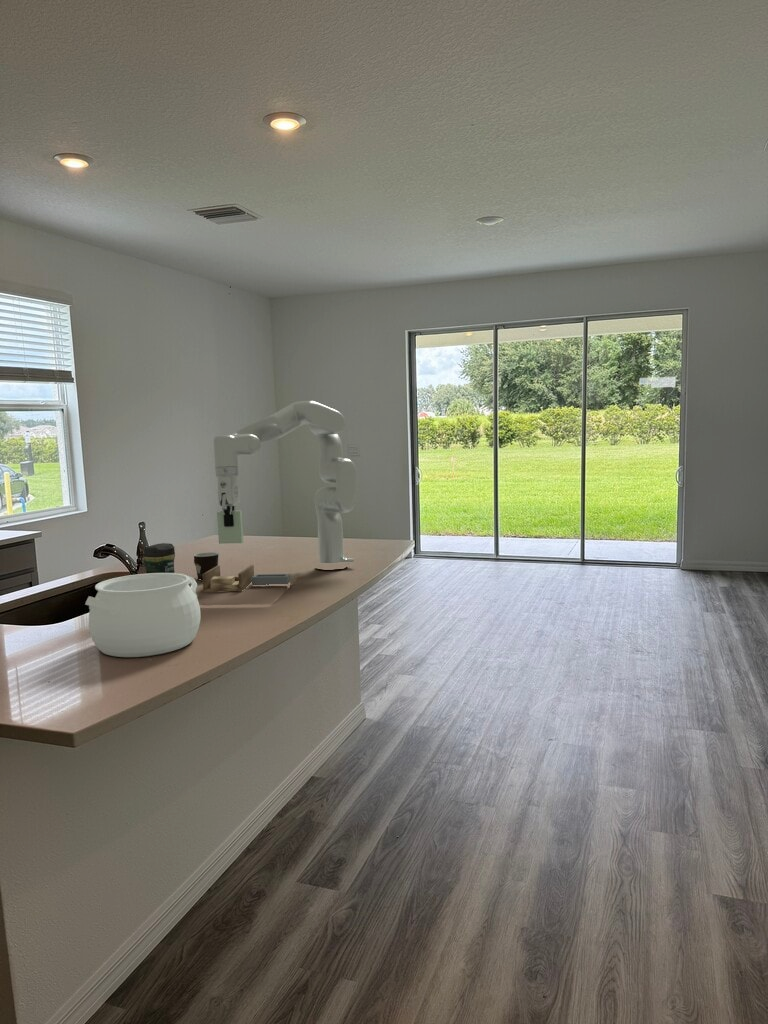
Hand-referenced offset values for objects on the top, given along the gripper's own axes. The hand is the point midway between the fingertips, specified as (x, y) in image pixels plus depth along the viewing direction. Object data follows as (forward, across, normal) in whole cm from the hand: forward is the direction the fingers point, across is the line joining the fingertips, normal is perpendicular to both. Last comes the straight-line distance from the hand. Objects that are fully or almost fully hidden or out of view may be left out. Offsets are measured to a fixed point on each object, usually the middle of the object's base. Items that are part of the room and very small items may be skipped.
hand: (230, 525), depth 238 cm
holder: (+22, -2, -14) cm, 26 cm away
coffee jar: (+22, -20, +17) cm, 34 cm away
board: (+6, 0, 0) cm, 6 cm away
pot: (+21, -66, +2) cm, 69 cm away
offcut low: (+20, -8, 0) cm, 22 cm away
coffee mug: (+22, +11, +13) cm, 28 cm away
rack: (+22, -4, 0) cm, 22 cm away
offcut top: (+18, -8, +1) cm, 20 cm away
